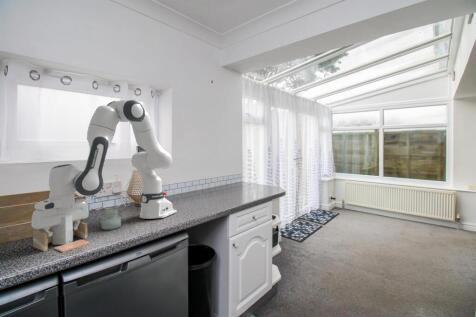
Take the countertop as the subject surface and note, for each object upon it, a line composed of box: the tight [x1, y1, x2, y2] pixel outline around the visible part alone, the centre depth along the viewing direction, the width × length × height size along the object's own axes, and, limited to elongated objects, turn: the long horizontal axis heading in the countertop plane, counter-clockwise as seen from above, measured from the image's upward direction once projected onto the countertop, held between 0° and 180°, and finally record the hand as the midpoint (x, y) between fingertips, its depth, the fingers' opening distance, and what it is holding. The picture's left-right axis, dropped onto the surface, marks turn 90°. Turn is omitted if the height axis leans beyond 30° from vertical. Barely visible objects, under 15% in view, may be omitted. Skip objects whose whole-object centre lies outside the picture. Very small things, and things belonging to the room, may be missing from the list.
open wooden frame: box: [32, 221, 88, 252], centre depth 99 cm, size 16×10×7 cm, turn 152°
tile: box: [53, 239, 91, 253], centre depth 94 cm, size 10×7×1 cm
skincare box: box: [52, 215, 74, 246], centre depth 98 cm, size 6×4×12 cm
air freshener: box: [101, 207, 122, 231], centre depth 117 cm, size 11×8×10 cm
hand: (62, 233), depth 98 cm, fingers open, 8 cm apart
